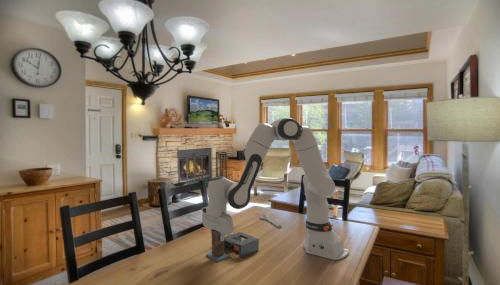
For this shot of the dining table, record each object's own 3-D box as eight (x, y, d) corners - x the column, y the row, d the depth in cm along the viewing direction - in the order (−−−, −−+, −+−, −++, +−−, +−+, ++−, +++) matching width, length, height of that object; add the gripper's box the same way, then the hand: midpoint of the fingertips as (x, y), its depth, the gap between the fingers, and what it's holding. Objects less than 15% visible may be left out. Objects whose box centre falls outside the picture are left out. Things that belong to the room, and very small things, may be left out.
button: (247, 249, 144) (247, 244, 144) (240, 252, 141) (240, 247, 140) (240, 246, 147) (240, 241, 147) (233, 249, 144) (233, 244, 144)
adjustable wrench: (282, 228, 176) (282, 225, 176) (273, 230, 174) (273, 227, 174) (267, 216, 200) (267, 214, 200) (258, 217, 198) (258, 215, 198)
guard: (258, 250, 143) (258, 238, 143) (241, 258, 135) (241, 245, 135) (240, 242, 153) (239, 231, 153) (222, 249, 145) (222, 237, 145)
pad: (229, 257, 136) (229, 255, 136) (217, 262, 131) (217, 259, 131) (217, 251, 142) (217, 249, 142) (206, 255, 137) (206, 253, 137)
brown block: (223, 254, 136) (223, 230, 136) (217, 257, 133) (216, 232, 133) (218, 252, 139) (218, 228, 139) (211, 254, 136) (211, 230, 136)
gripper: (236, 213, 130) (236, 243, 131) (210, 205, 145) (210, 232, 145) (226, 216, 126) (226, 247, 126) (199, 207, 140) (200, 235, 141)
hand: (217, 239), depth 136 cm, fingers open, 5 cm apart
